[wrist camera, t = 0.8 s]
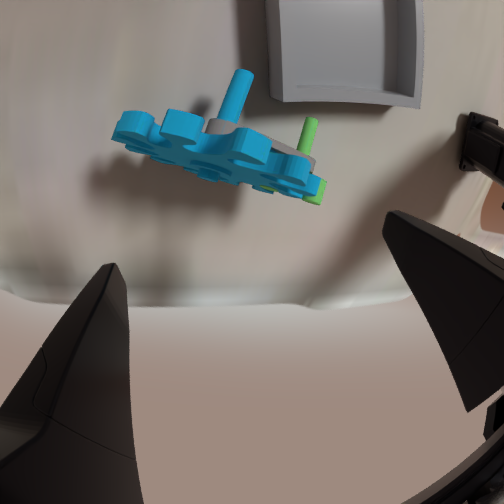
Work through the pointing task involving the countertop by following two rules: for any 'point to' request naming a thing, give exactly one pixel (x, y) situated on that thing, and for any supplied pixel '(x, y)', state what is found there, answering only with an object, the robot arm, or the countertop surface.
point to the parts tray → (346, 51)
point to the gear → (226, 147)
